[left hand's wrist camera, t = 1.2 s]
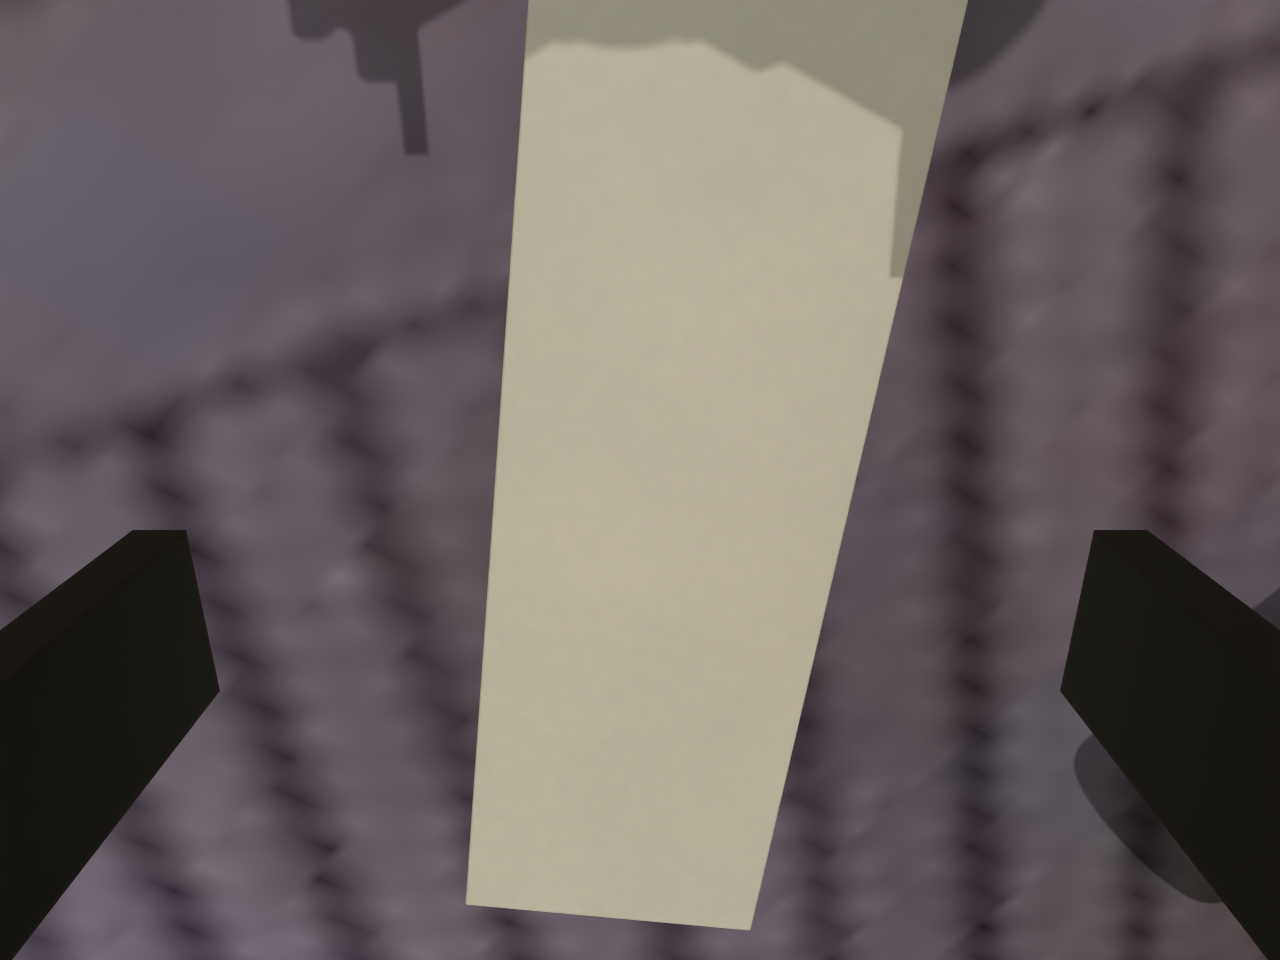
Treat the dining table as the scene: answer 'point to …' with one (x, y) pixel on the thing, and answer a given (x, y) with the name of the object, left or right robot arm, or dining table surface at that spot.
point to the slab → (684, 426)
